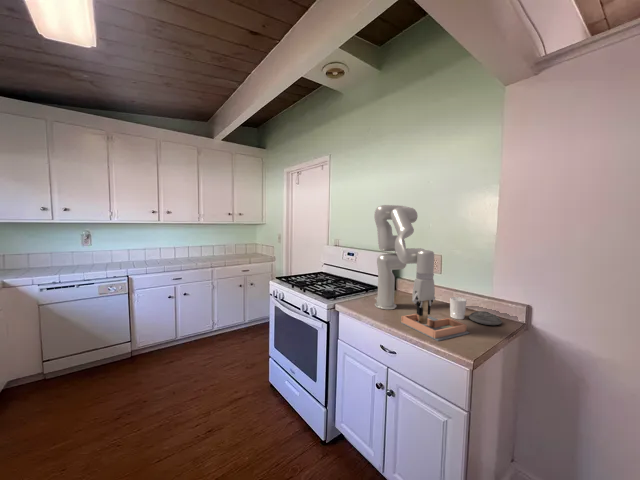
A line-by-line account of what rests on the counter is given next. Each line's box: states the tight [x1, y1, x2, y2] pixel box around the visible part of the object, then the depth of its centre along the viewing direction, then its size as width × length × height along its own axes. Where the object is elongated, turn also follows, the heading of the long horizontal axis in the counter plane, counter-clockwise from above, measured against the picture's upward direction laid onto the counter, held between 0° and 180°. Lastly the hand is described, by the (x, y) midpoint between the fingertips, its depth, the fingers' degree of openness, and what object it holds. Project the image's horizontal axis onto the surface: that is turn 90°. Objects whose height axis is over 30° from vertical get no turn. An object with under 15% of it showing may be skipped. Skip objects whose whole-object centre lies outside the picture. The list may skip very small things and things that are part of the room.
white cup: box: [449, 296, 467, 320], centre depth 149 cm, size 8×8×10 cm
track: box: [400, 313, 470, 342], centre depth 134 cm, size 23×20×4 cm
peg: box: [418, 300, 429, 324], centre depth 133 cm, size 4×4×12 cm
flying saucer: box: [468, 310, 503, 326], centre depth 144 cm, size 15×15×6 cm
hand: (423, 314), depth 133 cm, fingers closed on peg, 4 cm apart
